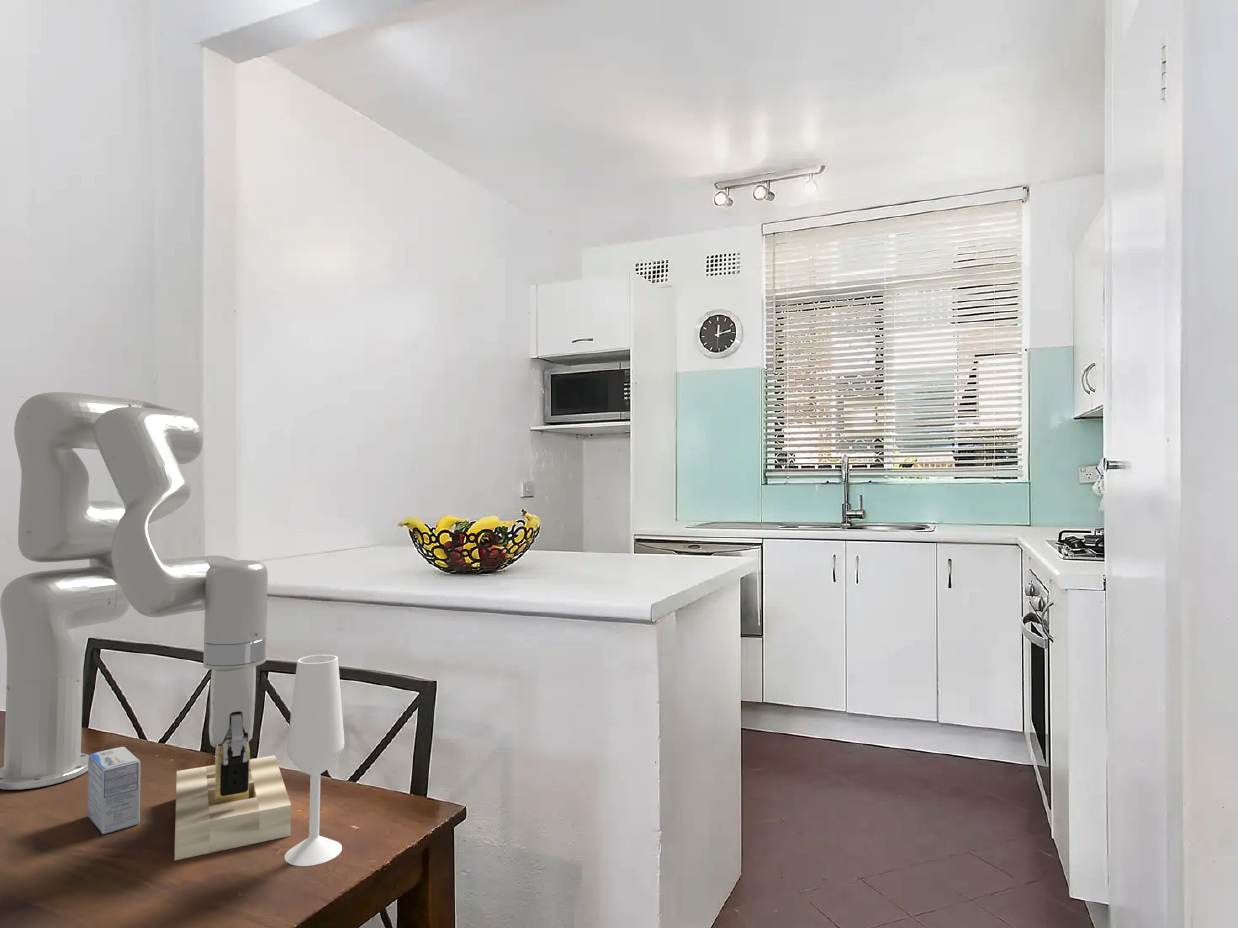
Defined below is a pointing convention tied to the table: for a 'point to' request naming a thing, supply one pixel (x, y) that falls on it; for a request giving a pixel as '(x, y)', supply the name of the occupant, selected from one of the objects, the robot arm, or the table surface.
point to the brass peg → (218, 761)
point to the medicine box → (113, 789)
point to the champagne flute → (315, 745)
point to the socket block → (230, 810)
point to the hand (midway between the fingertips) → (232, 779)
